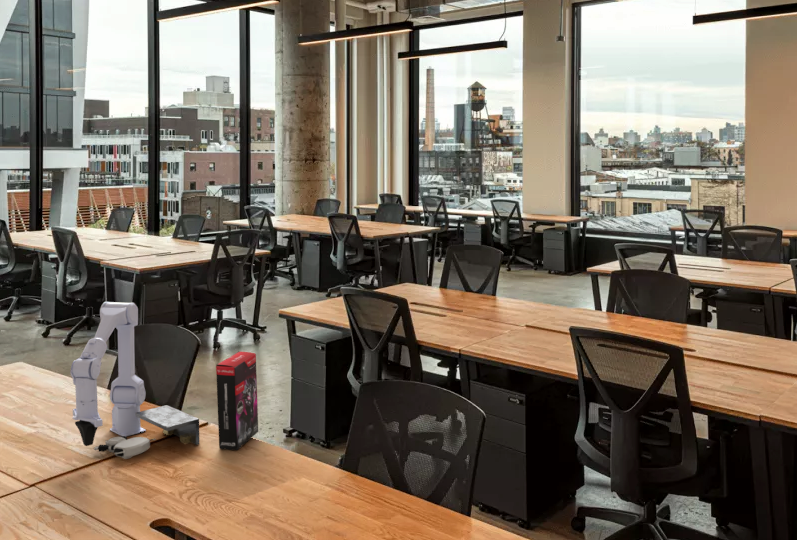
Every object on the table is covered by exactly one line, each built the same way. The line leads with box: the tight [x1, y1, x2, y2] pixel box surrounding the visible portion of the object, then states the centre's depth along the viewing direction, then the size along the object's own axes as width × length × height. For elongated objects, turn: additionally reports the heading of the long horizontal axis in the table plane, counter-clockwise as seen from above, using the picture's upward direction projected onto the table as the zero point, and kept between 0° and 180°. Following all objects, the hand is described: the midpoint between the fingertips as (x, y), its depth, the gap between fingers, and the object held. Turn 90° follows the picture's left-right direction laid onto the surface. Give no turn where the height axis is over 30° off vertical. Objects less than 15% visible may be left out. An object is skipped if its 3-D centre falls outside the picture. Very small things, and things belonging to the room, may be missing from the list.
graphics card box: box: [215, 350, 259, 451], centre depth 237 cm, size 17×7×27 cm, turn 168°
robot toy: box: [93, 436, 157, 460], centre depth 227 cm, size 12×4×15 cm
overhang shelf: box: [136, 404, 201, 446], centre depth 237 cm, size 19×11×8 cm, turn 48°
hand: (88, 444), depth 218 cm, fingers closed
